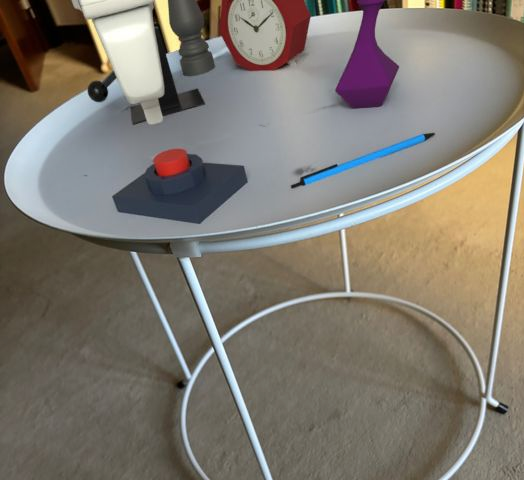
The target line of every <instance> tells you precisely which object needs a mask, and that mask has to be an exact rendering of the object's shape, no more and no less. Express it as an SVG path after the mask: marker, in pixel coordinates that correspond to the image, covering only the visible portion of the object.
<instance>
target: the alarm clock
mask: <svg viewBox="0 0 524 480" xmlns="http://www.w3.org/2000/svg"><path fill="white" fill-rule="evenodd" d="M311 17H312V16H311V13H310V11H309V9H308V6H307V5H306V2H305V1H304V0H221V5H220V21H219V30H218V31H219V35H220V36H221V39H222V40H223V42H224V45H225V46H226V47H227V50H228V51H229V53H230V55H231V57H232V59H233V61H234V62H235V64H236V65H237V66H240V67H242V68H244V69H246V70H249V71H251V72H266V71H267V72H269V71H275V70H277V69H278V68H280V67H282V66H284V65H285V64H287V65H288V66H292V65H294V66H295V67H296V68H299V66H298V64H297V63H296V60H295V58H296V57H297V56H298V55H300V54H301V53H303V52H304V51H305V48H306V43H307V38H308V33H309V27H310V23H311Z"/></svg>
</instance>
